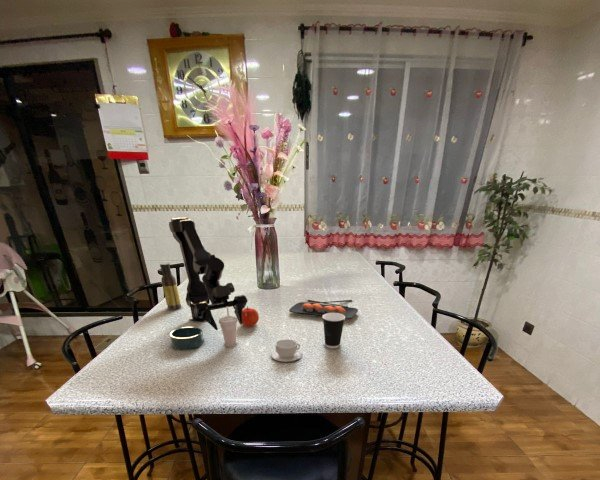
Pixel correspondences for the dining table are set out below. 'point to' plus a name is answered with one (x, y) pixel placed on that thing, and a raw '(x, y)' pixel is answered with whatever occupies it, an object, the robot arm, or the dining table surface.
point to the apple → (249, 317)
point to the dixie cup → (333, 329)
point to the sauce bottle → (170, 287)
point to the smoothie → (229, 329)
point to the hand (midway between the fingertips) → (229, 327)
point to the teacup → (286, 350)
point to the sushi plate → (323, 309)
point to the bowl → (186, 338)
